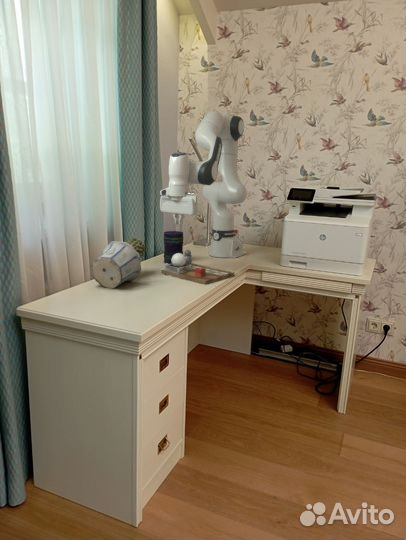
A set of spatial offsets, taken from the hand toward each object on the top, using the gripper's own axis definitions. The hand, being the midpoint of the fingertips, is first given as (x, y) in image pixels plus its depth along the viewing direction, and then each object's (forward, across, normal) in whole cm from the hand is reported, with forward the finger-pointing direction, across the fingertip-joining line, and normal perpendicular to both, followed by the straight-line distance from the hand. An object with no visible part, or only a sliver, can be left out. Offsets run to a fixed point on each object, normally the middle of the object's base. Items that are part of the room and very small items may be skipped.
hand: (178, 224), depth 186 cm
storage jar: (+22, +19, -16) cm, 33 cm away
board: (+22, -7, -5) cm, 24 cm away
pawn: (+21, +3, -9) cm, 23 cm away
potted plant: (+23, +8, +24) cm, 34 cm away
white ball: (+19, 0, 0) cm, 19 cm away
